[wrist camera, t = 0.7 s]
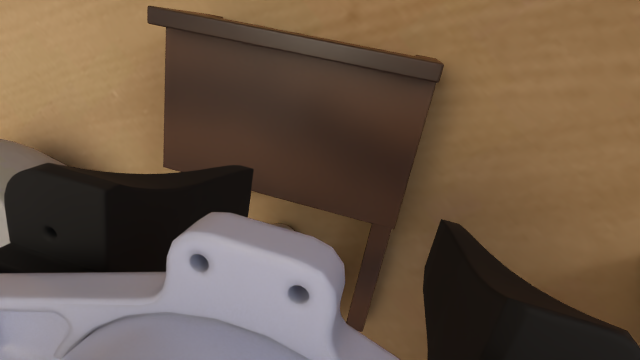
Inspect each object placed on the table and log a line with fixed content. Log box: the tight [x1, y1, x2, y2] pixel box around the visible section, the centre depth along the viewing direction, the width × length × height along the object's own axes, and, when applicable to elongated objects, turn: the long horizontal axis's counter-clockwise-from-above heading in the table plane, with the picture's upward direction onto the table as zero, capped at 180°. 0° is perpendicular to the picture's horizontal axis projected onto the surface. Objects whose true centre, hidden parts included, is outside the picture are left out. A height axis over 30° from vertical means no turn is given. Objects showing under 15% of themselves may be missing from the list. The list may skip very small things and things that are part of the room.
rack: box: [148, 6, 444, 332], centre depth 23 cm, size 18×14×6 cm
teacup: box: [0, 139, 66, 248], centre depth 27 cm, size 15×12×8 cm
